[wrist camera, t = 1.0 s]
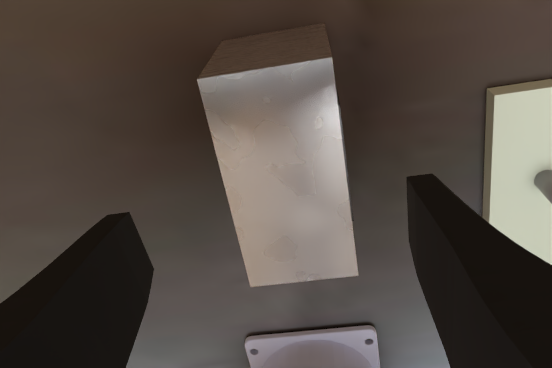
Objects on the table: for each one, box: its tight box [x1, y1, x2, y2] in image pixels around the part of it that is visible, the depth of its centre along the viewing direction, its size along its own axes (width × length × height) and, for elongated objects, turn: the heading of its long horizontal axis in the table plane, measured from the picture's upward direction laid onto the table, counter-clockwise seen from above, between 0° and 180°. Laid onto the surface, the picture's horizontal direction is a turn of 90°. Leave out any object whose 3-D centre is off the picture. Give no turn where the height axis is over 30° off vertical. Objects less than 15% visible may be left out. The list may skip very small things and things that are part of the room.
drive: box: [197, 23, 358, 287], centre depth 20 cm, size 9×5×6 cm, turn 10°
